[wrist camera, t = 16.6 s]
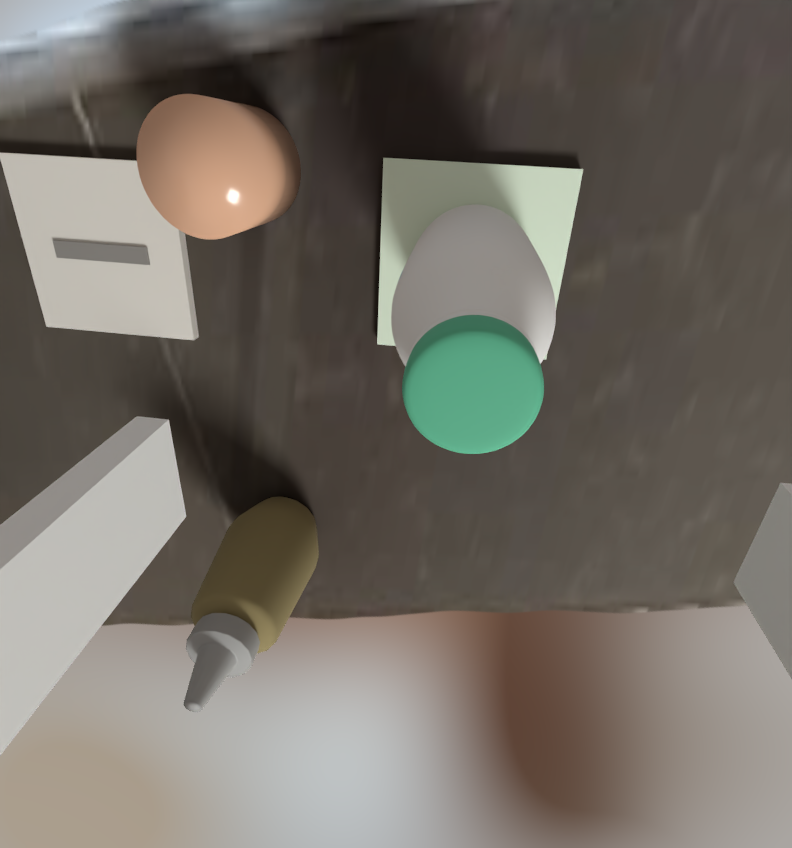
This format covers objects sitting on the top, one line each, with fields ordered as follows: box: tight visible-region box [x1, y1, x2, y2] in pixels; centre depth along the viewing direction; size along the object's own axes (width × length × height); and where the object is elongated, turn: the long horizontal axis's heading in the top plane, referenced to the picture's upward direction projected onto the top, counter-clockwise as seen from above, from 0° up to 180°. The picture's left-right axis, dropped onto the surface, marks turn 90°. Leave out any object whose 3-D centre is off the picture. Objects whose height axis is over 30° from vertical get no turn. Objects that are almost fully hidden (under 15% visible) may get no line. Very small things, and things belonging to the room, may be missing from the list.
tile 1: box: [0, 153, 199, 340], centre depth 37 cm, size 12×12×1 cm
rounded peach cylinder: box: [137, 94, 301, 239], centre depth 31 cm, size 7×7×7 cm
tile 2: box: [377, 158, 583, 359], centre depth 35 cm, size 12×12×1 cm
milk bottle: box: [391, 204, 556, 454], centre depth 25 cm, size 8×8×20 cm
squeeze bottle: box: [184, 497, 319, 712], centre depth 40 cm, size 8×8×18 cm
